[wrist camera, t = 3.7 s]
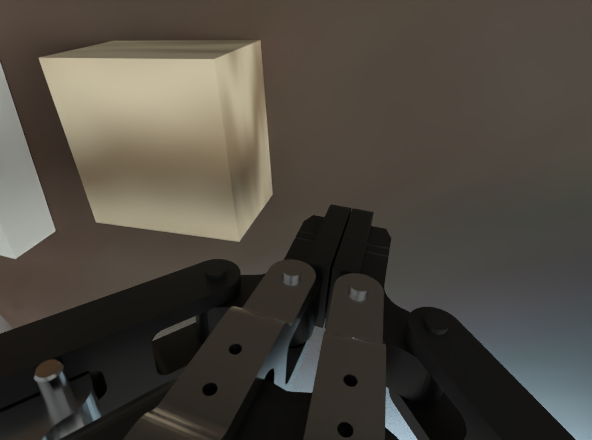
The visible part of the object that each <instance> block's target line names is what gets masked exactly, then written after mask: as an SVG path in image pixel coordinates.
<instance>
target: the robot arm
mask: <svg viewBox="0 0 592 440" xmlns="http://www.w3.org/2000/svg"><path fill="white" fill-rule="evenodd" d="M372 219H373V212H370V211H365V210H359V209H354V208H353V209H352V212H351V208H348V207H342V206H337V205H332V204H331V205H330V207H329V209H328V211H327V213H326V216H325V217H320V216H315V215H313V216H311V217H310V218H308V219H307V220H305V221H304V222H303V224H302V226H301V228H300V230H299V232H298V234H297V236H296V238H295V239H294V241H293V243H292V245H291V247H290V249H289V251H288V253H287V255H286V257H285V259H284V260H282V261H279V262H277V263H275V264H273V265H272V266H271V267H270V268H269V270H268V271H267V273H266V274H262V275H240V269H239V267H238V266H237V265H236V264H234V263H233V262H231V261H228V260H223V259H213V260H208V261H205V262H202V263H199V264H196V265H193V266H191V267H188V268H185V269H182V270H179V271H176V272H174V273H171V274H168V275H165V276H162V277H159V278H157V279H154V280H151V281H148V282H145V283H142V284H140V285H137V286H134V287H131V288H128V289H125V290H123V291H120V292H117V293H114V294H111V295H108V296H106V297H103V298H100V299H97V300H94V301H91V302H89V303H86V304H83V305H80V306H77V307H75V308H72V309H69V310H66V311H63V312H60V313H58V314H55V315H52V316H49V317H46V318H43V319H41V320H38V321H35V322H32V323H29V324H26V325H24V326H21V327H18V328H15V329H12V330H10V331H7V332H4V333H1V334H0V440H399V439H398V438H397V437H396V436H395V435H394V434H392V433H391V432H390V431H389V430H388V429H387V428H385V397H386V387H388V388H389V394H390V397H391V399H392V401H393V403H394V404H395V406H396V407H397V409H398V411H399V412H400V414H401V415H402V417H403V418H404V420H405V421H406V423H407V424H408V426H409V427H410V429H411V430H412V432H413V433H414V435H415V436H416V438H417V439H418V440H575V438H574V437H573V436H572V435H571V434H570V433H569V432H568V431H567V430H566V429H565V428H564V427H563V426H562V425H561V424H560V423H559V422H558V421H557V420H556V419H555V418H554V417H553V416H552V415H551V414H550V413H549V412H548V411H547V410H546V409H545V408H544V407H543V406H542V405H541V404H540V403H539V402H538V401H537V400H536V399H535V398H534V397H533V396H532V395H531V394H530V393H529V392H528V391H527V390H526V389H525V388H524V387H523V386H522V385H521V384H520V383H519V382H518V381H517V380H516V379H515V378H514V377H513V376H512V375H511V374H510V373H509V372H508V371H507V370H506V369H505V368H504V367H503V365H502V364H501V363H500V362H499V361H498V360H497V359H496V358H495V357H494V356H493V355H492V354H491V353H490V352H489V351H488V350H487V349H486V348H485V347H484V346H483V345H482V344H481V343H480V342H479V341H478V340H477V339H476V338H475V337H474V336H473V335H472V334H471V333H470V332H469V331H468V330H467V329H466V328H465V327H464V326H463V325H462V324H461V323H460V322H459V321H458V320H457V319H456V318H455V317H454V316H452V315H451V314H449V313H448V312H446V311H443V310H441V309H438V308H433V307H421V308H417V309H415V310H413V311H412V312H411V313H410V312H408V311H406V310H404V309H402V308H400V307H398V306H397V305H396V304H394V303H393V302H392V301H391V300H390V299H389V298H388V297H387V295H386V293H385V290H384V283H385V276H386V269H387V263H388V256H389V249H390V242H391V237H390V235H389V234H388V232H387V230H386V229H384V228H378V227H373V226H371V224H372ZM194 316H196V323H193V324H191V325H189V326H186V327H184V328H182V329H180V330H177V331H175V332H173V333H170V334H168V335H166V336H163V337H161V338H159V339H156V340H154V341H152V340H153V338H154V336H155V335H156V334H157V333H158V332H160V331H161V330H163V329H165V328H168V327H170V326H173V325H175V324H177V323H180V322H182V321H184V320H187V319H189V318H191V317H194ZM325 319H326V323H325V328H326V330H325V332H324V335H323V340H322V346H321V351H320V356H319V361H318V366H317V371H316V377H315V382H314V387H313V392H312V393H304V392H290V391H289V390H290V387H291V385H292V383H293V380H294V378H295V376H296V374H297V371H298V369H299V367H300V364H301V362H302V360H303V358H304V355H305V353H306V351H307V348H308V346H309V339H310V337H311V335H312V332H313V329H314V326H318V327H322V328H323V325H324V322H325Z"/></svg>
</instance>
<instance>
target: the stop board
mask: <svg viewBox="0 0 592 440" xmlns="http://www.w3.org/2000/svg"><path fill="white" fill-rule="evenodd" d="M55 231H56V230H55V227H54V224H53V221H52V218H51V215H50V212H49V209H48V206H47V203H46V200H45V197H44V194H43V191H42V188H41V185H40V182H39V178H38V175H37V172H36V169H35V166H34V163H33V160H32V157H31V154H30V151H29V148H28V145H27V142H26V139H25V136H24V133H23V130H22V127H21V124H20V121H19V118H18V115H17V112H16V109H15V106H14V102H13V99H12V96H11V93H10V90H9V87H8V84H7V81H6V78H5V75H4V72H3V69H2V66H1V63H0V255H2V256H5V257H9V258H13V259H16V258H18V257H19V256H21V255H22V254H23V253H25V252H26V251H28V250H29V249H31V248H32V247H34V246H35V245H36V244H38V243H39V242H41V241H42V240H44V239H45V238H46V237H48V236H49V235H51V234H52V233H54V232H55Z"/></svg>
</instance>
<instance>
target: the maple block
mask: <svg viewBox="0 0 592 440" xmlns="http://www.w3.org/2000/svg"><path fill="white" fill-rule="evenodd" d="M39 61H40V64H41V66H42V69H43V72H44V75H45V78H46V81H47V84H48V86H49V89H50V92H51V95H52V98H53V101H54V104H55V106H56V109H57V112H58V115H59V118H60V121H61V124H62V126H63V129H64V132H65V135H66V138H67V141H68V143H69V146H70V149H71V152H72V155H73V158H74V161H75V163H76V166H77V169H78V172H79V175H80V178H81V181H82V183H83V186H84V189H85V192H86V195H87V198H88V201H89V203H90V206H91V209H92V212H93V215H94V218H95V221H96V222H97V223H105V224H112V225H120V226H127V227H134V228H142V229H149V230H157V231H164V232H171V233H179V234H186V235H194V236H201V237H208V238H216V239H223V240H231V241H238V242H239V241H240V240H241V238H242V237H243V236H244V234H245V233H246V231H247V230H248V229H249V227H250V226H251V224H252V223H253V222H254V220H255V219H256V217H257V216H258V214H259V213H260V212H261V210H262V209H263V207H264V206H265V205H266V203H267V202H268V200H269V199H270V198H271V196H272V195H273V192H272V180H271V167H270V155H269V142H268V130H267V117H266V105H265V92H264V79H263V67H262V54H261V42H260V40H160V41H110V42H106V43H101V44H97V45H92V46H88V47H84V48H79V49H75V50H70V51H66V52H62V53H57V54H53V55H48V56H44V57H39Z"/></svg>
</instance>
